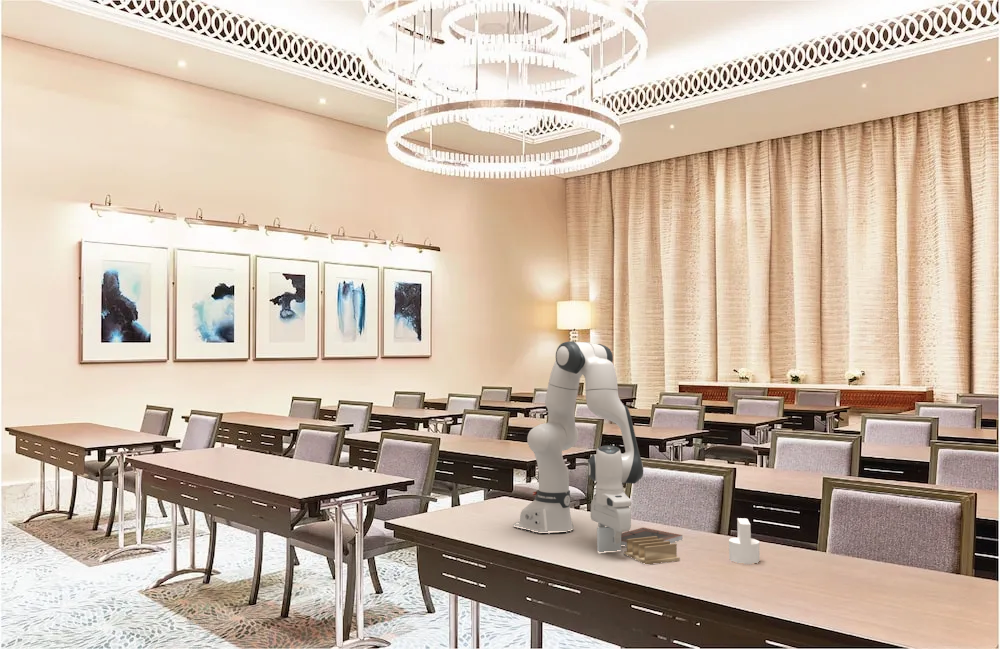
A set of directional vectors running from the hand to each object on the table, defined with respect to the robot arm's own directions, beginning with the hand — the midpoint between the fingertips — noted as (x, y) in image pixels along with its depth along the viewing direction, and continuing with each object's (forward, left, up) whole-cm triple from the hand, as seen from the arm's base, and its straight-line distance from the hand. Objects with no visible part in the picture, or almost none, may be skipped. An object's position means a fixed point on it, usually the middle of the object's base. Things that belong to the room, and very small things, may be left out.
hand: (609, 540), depth 245 cm
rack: (+14, +2, -4) cm, 14 cm away
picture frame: (+2, +20, -5) cm, 20 cm away
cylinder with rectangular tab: (+38, +17, -4) cm, 42 cm away
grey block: (0, 0, -4) cm, 4 cm away
